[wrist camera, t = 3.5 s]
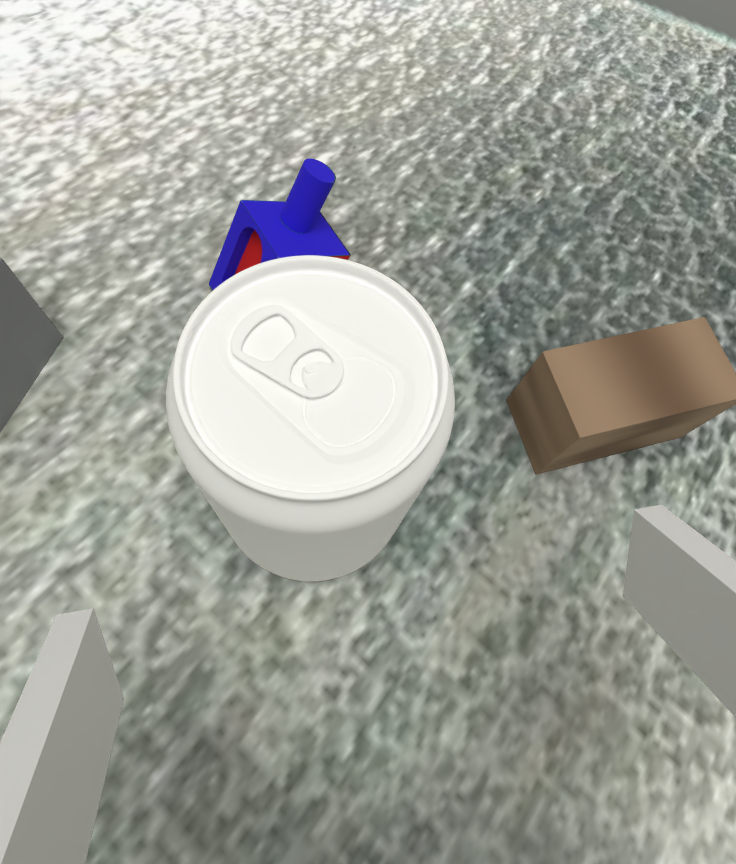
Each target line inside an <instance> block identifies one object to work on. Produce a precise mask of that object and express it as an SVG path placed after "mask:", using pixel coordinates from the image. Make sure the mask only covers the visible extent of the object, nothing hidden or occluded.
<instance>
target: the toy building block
mask: <svg viewBox="0 0 736 864" xmlns="http://www.w3.org/2000/svg"><path fill="white" fill-rule="evenodd" d="M335 180H336V176H335V174H334V172H333V171H332V170H331V169H330V168H329V167H328V166H327V165H325V164H324V163H322V162H320V161H318V160H315V159H306V160H304V163H303V165H302V167H301V169H300V171H299V174H298V176H297V178H296V180H295V183H294V185H293V187H292V189H291V191H290V194H289V196H288V198H287V200H286V202H282V201H254V200H241V201H240V203H239V206H238V209H237V211H236V214H235V216H234V219H233V222H232V224H231V227H230V230H229V232H228V235H227V237H226V240H225V243H224V245H223V248H222V251H221V253H220V256H219V258H218V261H217V264H216V266H215V269H214V272H213V274H212V277H211V279H210V282H209V285H210V287H211V289H212V290H214V289H215V288H217V287H218V286H219V285H220V284H222V283H223V282H224V281H226V280H227V279H229V278H230V277H232V276H234V275H235V274H237V273H239V272H241V271H243V270H245V269H247V268H250V267H252V266H254V265H257V264H260V263H263V262H266V261H270V260H274V259H278V258H284V257H291V256H303V255H316V256H328V257H335V258H340V259H345V260H348V259H349V257H350V253H349V252H348V250H347V249H346V248H345V246H344V245H343V243H342V242H341V241H340V239H339V238H338V236H337V235H336V233H335V232H334V231H333V229H332V228H331V226H330V225H329V224H328V222H327V221H326V219H325V218H324V217H323V215H322V214H321V212H320V210H321V208H322V206H323V204H324V202H325V200H326V198H327V196H328V194H329V192H330V190H331V188H332V186H333V184H334V182H335Z"/></svg>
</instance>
